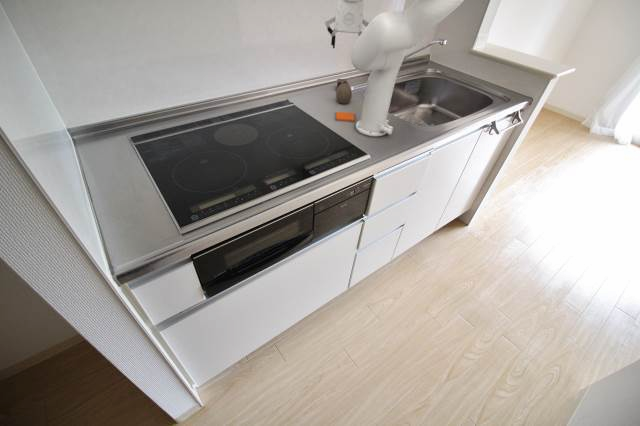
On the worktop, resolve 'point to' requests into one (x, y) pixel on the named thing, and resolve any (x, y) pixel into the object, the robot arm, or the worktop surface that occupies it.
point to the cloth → (345, 116)
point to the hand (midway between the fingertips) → (345, 48)
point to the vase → (344, 93)
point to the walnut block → (340, 82)
